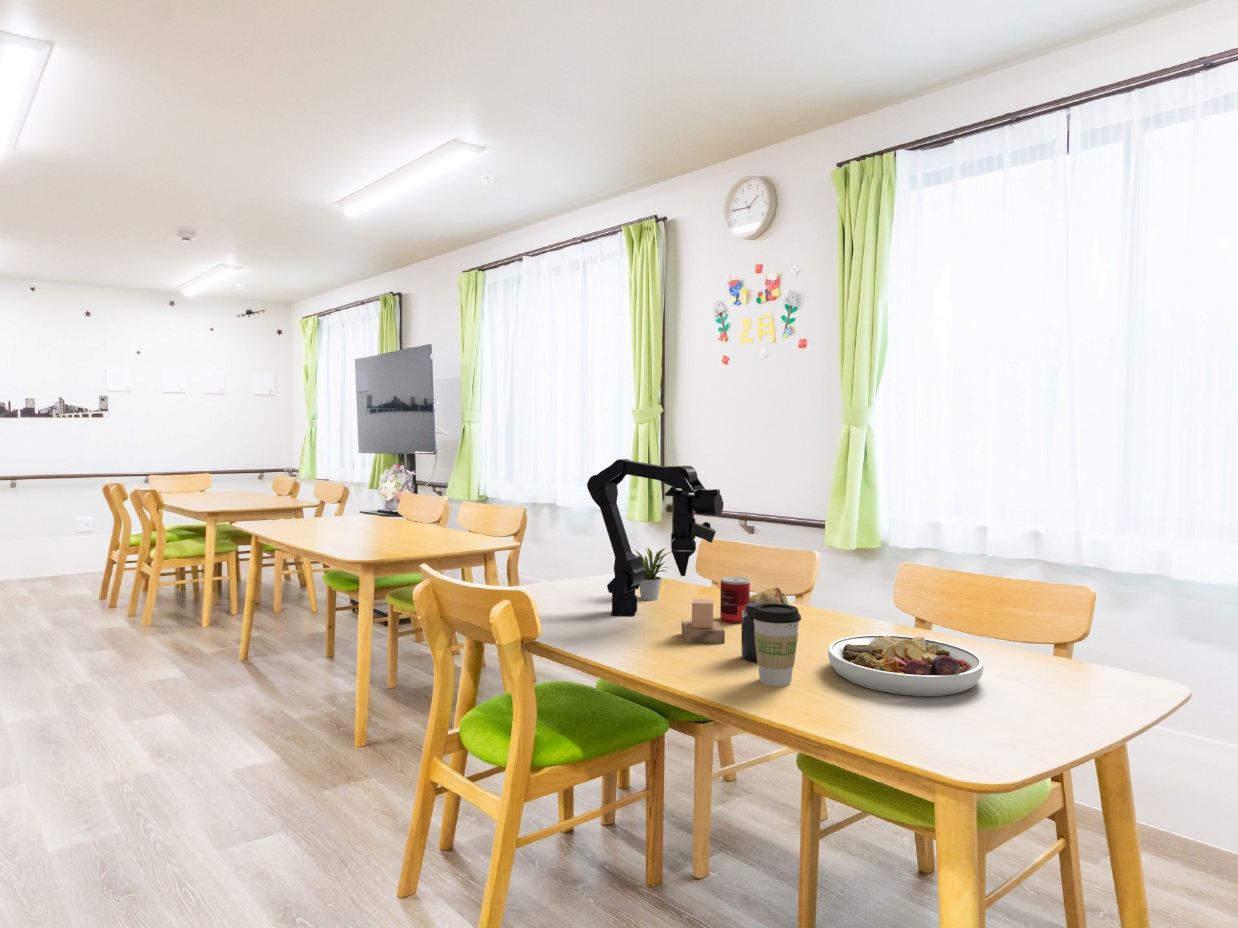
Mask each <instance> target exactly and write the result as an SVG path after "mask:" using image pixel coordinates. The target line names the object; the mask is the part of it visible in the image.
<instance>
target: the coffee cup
mask: <svg viewBox="0 0 1238 928" xmlns="http://www.w3.org/2000/svg"><path fill="white" fill-rule="evenodd" d="M751 617H752V618H753V619H754V627H755V630H754V635H755V645H756V654H757V662H756V663H757V666H758V674H759V676H758V677H759V682H760V683H761V684H762V685H765V686H769V687H774V688H775V687H776V688H778V687H779V688H781V687H787V686H790V685H791V684H792V678H793V669H794V666H795V663H796V662H795V661H796V655H797V654H796V653H797V647H798V646H797V645H798V637H799V631H798V630H799V624H800V622H801V620H802V616H801V614H800V613H799V608H798V607H796V606H795V605H790V604H789V605H787V604H778V603H766V604H759V605H756V606H755V609H754V611H753V612H752V616H751Z"/></svg>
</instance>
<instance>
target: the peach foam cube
mask: <svg viewBox="0 0 1238 928" xmlns="http://www.w3.org/2000/svg"><path fill="white" fill-rule="evenodd" d="M713 621H714V599H712V598H711V599H709V598H705V599H704V598H692V602H691V622H692V628H712V629H713Z"/></svg>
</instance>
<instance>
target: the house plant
mask: <svg viewBox="0 0 1238 928" xmlns="http://www.w3.org/2000/svg"><path fill="white" fill-rule="evenodd" d="M646 548H647V549H645V551H646V554H647V555H645V556H643V555H642V554H641V553H640V552H639V551H638V550H637V549H634V551H635V553H636V554H637V555H636V554H634V553H633V554H634V555H635V556H636V557H639V556H641V558H642V562H643V566H644V568H645V569H646V570H645V571H644V572H645V578H644V579H643V581H642V582H641V583H640V585H639V588H638V589H639V593H640V599H641V600H644V601H657V600H659V596H660V590H661V584H662V577H660V576H658V575H657V574H658V573H661V572H666V573H667V571H666V570H664V568H666V569H668V570H669V567H668V566H664V567H662V566H663V565H664V564H665V563H666V561H664V562H662V560H663V559H664V557H666V556H667V555H668V554H670V553H671V551H669V552H667V553H664V550H666V549H667V547H664V548H661V549H660V550H658V551H657V552H656V553H655V557H653V551H652V549H650V548H649V547H646ZM663 553H664V554H663ZM647 556H648V557H647ZM661 569H662V570H661Z"/></svg>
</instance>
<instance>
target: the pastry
mask: <svg viewBox="0 0 1238 928" xmlns="http://www.w3.org/2000/svg"><path fill="white" fill-rule="evenodd" d="M749 603H763V604H766V603H778V604H787V605H790V604H789V601H788V597H787V595H786V594H785V593H784V592H783V591H781V589H780V588H779V587H776V586H775V587H774V588H769V589H766V590H762V591H760V592H757V593H754V594H752V595H751V596H750V601H749Z"/></svg>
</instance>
